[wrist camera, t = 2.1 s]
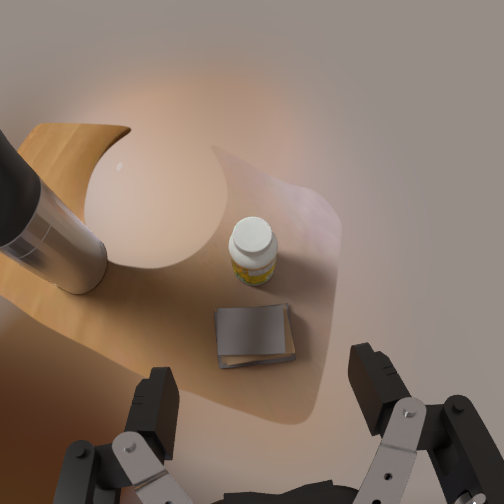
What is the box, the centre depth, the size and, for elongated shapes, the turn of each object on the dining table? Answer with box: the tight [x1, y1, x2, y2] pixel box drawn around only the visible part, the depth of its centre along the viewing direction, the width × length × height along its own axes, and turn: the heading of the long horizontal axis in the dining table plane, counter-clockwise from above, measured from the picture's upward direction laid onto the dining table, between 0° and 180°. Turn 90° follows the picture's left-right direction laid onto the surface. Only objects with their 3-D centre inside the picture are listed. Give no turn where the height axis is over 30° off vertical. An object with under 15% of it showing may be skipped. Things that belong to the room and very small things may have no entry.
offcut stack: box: [214, 303, 296, 369], centre depth 35 cm, size 9×7×4 cm
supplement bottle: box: [229, 217, 278, 285], centre depth 36 cm, size 5×5×10 cm
